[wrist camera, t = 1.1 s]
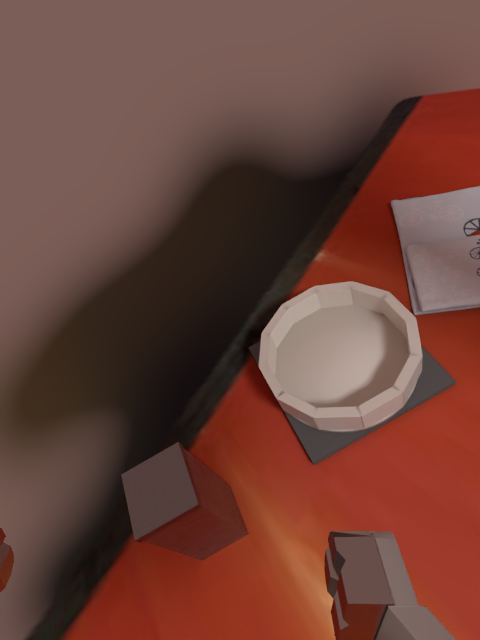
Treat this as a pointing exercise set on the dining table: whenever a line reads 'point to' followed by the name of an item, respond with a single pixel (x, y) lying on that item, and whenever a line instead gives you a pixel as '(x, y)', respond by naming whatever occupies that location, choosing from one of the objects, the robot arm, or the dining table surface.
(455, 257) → the printed paper sheets
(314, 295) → the bowl
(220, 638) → the dining table surface
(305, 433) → the mat
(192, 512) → the tin
